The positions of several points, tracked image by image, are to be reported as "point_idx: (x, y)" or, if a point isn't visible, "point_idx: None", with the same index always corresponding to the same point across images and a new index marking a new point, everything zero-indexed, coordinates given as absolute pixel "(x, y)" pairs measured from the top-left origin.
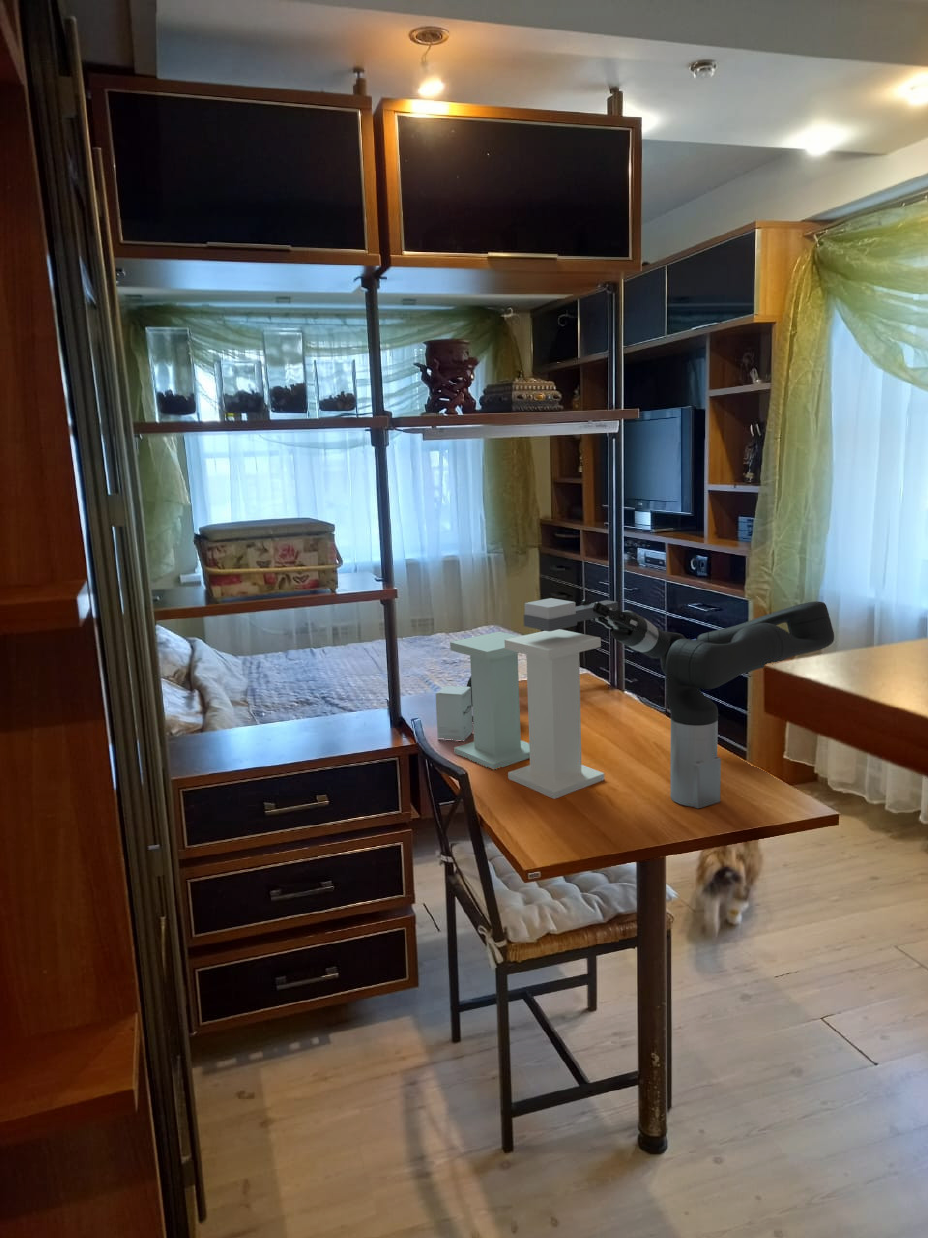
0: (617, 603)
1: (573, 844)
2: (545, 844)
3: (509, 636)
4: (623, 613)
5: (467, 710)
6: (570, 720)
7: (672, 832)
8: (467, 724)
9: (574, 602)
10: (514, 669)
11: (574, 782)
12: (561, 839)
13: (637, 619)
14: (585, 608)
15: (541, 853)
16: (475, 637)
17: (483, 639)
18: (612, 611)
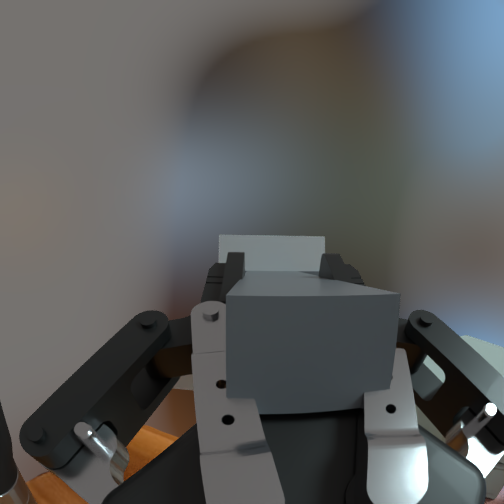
0: (226, 310)
1: (130, 453)
2: (152, 446)
3: (501, 369)
4: (114, 345)
5: (495, 466)
6: None
7: (51, 486)
8: (485, 481)
9: (219, 235)
10: (437, 430)
11: None
12: (144, 455)
13: (29, 425)
14: (251, 273)
15: (147, 438)
16: (495, 347)
17: (479, 351)
18: (183, 322)
